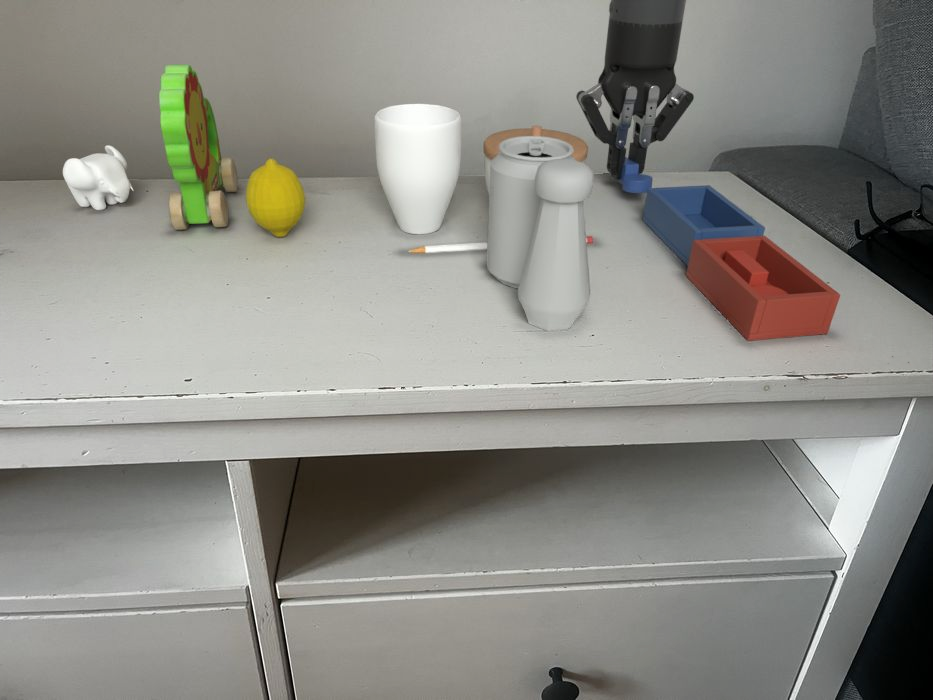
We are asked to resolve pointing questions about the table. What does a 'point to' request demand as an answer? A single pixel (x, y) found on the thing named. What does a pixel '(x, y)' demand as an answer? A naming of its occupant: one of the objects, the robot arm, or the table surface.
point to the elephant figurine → (98, 179)
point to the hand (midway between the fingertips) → (624, 176)
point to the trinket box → (495, 139)
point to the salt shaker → (558, 247)
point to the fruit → (275, 198)
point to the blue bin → (695, 217)
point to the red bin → (744, 306)
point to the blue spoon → (634, 178)
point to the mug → (418, 162)
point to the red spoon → (751, 272)
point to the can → (516, 201)
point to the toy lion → (193, 151)
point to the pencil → (462, 247)
